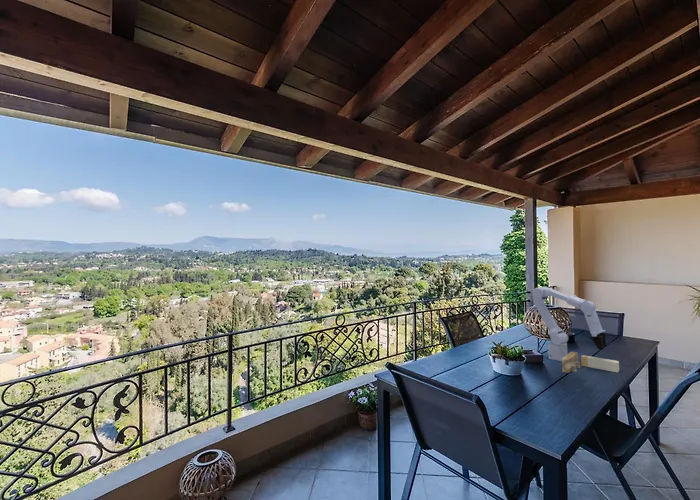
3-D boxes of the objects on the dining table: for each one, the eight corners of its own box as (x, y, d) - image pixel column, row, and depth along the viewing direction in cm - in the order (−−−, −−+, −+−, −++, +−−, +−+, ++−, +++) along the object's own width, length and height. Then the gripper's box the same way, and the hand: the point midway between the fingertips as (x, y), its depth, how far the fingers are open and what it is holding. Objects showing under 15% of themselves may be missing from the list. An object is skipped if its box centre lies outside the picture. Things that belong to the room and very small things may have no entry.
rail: (581, 365, 182) (580, 356, 182) (583, 363, 184) (582, 355, 184) (617, 372, 170) (617, 363, 170) (619, 370, 172) (618, 361, 172)
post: (562, 371, 173) (561, 358, 173) (571, 363, 185) (571, 351, 185) (573, 374, 169) (572, 360, 169) (582, 365, 181) (581, 353, 181)
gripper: (599, 323, 172) (608, 349, 169) (605, 320, 182) (614, 345, 178) (583, 325, 177) (592, 350, 174) (590, 322, 187) (598, 346, 183)
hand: (602, 348), depth 176 cm, fingers open, 7 cm apart
